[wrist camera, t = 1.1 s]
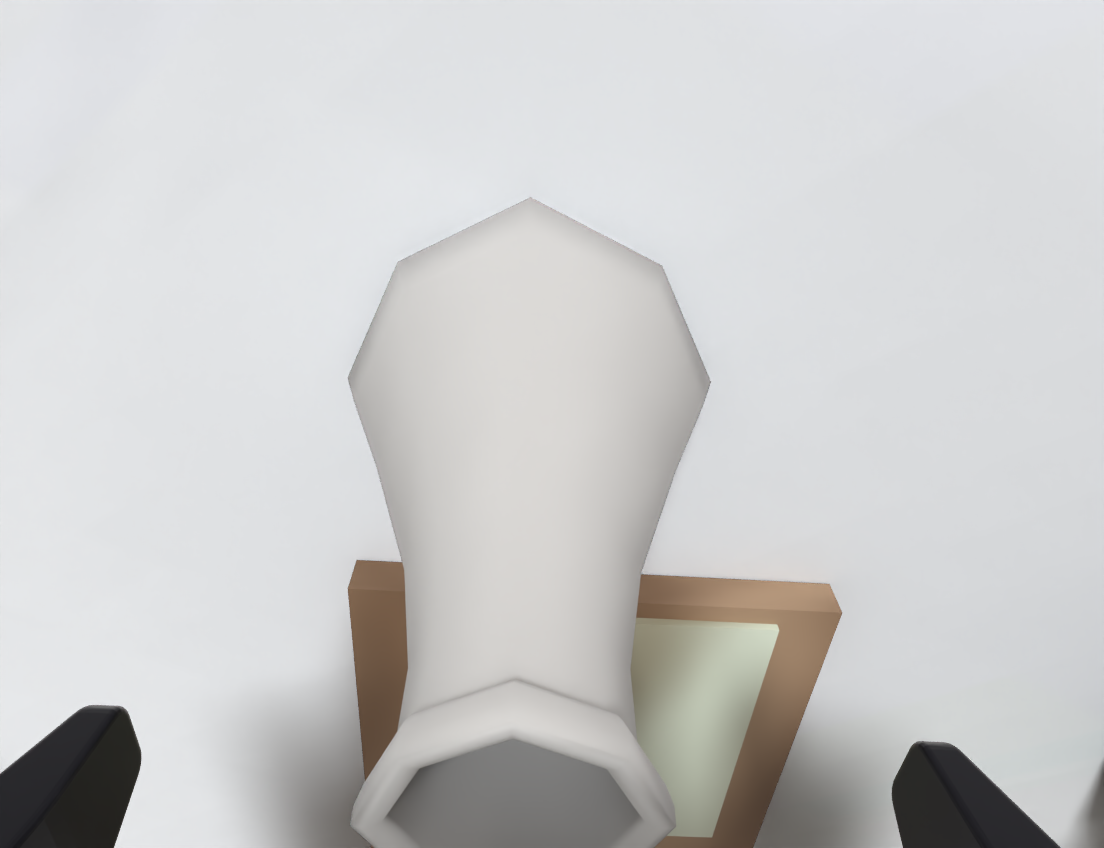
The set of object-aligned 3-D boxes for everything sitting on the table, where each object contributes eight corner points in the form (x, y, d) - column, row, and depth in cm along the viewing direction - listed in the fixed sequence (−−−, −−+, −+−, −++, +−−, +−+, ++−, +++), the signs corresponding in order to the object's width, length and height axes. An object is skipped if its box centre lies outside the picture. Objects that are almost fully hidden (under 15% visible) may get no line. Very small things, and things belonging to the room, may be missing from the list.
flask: (529, 554, 19) (516, 1040, 11) (290, 370, 16) (12, 827, 8) (767, 376, 16) (1003, 830, 8) (530, 121, 14) (506, 400, 5)
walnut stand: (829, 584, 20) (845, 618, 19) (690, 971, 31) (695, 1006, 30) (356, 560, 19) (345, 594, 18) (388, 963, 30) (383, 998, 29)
